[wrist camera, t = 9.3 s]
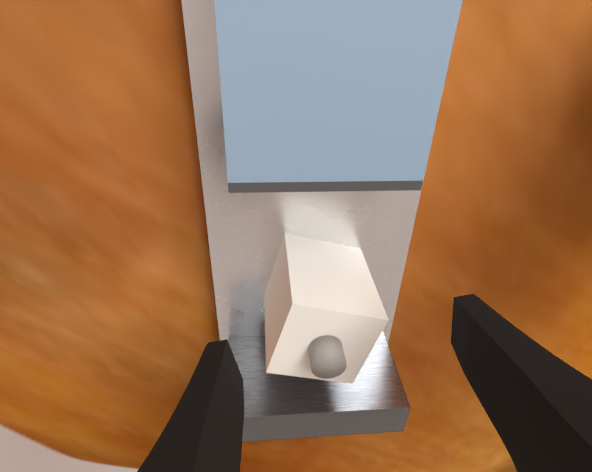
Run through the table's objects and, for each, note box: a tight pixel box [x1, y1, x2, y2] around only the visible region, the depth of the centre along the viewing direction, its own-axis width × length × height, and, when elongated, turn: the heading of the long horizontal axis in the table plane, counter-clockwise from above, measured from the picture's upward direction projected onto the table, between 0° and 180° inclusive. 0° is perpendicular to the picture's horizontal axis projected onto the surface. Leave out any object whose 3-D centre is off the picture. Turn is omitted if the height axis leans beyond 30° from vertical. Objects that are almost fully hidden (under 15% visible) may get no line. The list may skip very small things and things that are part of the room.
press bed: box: [181, 0, 463, 442], centre depth 17 cm, size 10×21×6 cm, turn 179°
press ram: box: [214, 0, 462, 193], centre depth 13 cm, size 7×8×3 cm
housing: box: [264, 233, 388, 384], centre depth 18 cm, size 4×4×6 cm
